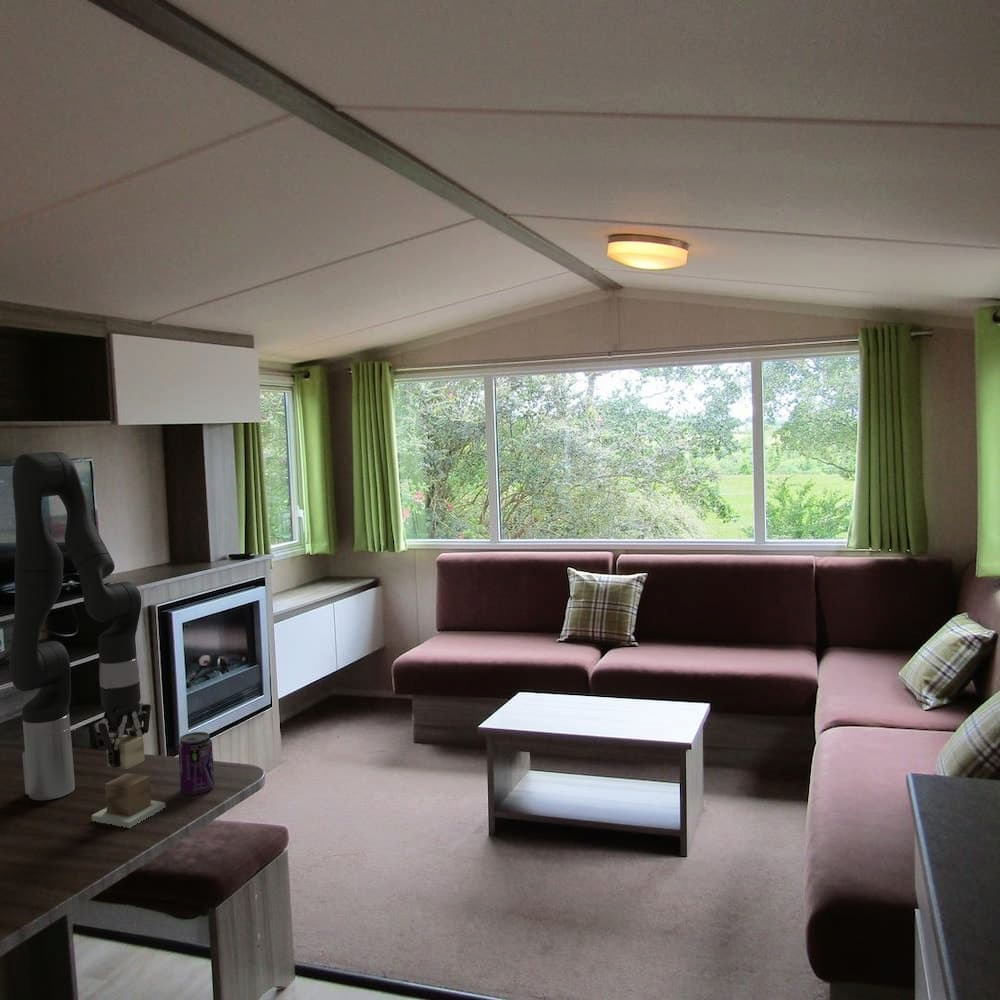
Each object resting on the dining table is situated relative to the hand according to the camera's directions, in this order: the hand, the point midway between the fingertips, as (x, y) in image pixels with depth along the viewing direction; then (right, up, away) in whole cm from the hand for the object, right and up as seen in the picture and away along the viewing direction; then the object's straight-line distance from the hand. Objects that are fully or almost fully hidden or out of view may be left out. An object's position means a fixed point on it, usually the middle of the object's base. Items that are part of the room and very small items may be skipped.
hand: (125, 761), depth 194 cm
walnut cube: (0, -10, +1) cm, 10 cm away
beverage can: (+11, -10, +13) cm, 20 cm away
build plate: (0, -11, +1) cm, 11 cm away
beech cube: (0, 0, 0) cm, 0 cm away
